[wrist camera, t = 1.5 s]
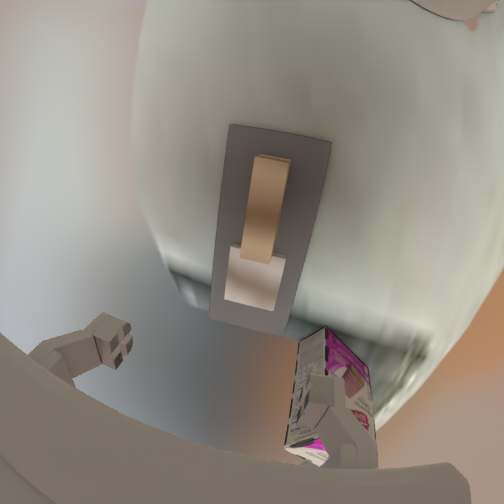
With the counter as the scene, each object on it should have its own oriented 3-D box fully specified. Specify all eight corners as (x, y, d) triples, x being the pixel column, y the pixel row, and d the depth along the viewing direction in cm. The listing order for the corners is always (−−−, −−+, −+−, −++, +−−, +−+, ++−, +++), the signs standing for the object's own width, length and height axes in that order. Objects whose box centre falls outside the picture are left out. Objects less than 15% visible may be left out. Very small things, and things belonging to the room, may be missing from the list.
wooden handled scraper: (245, 151, 26) (238, 154, 23) (306, 162, 25) (305, 166, 23) (226, 294, 34) (219, 308, 31) (274, 306, 33) (270, 321, 30)
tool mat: (231, 124, 26) (229, 124, 25) (331, 142, 25) (331, 142, 24) (210, 315, 36) (208, 318, 36) (283, 333, 35) (282, 336, 35)
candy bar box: (370, 366, 35) (379, 467, 21) (342, 381, 37) (341, 477, 23) (326, 322, 33) (324, 438, 19) (296, 340, 35) (280, 450, 21)
